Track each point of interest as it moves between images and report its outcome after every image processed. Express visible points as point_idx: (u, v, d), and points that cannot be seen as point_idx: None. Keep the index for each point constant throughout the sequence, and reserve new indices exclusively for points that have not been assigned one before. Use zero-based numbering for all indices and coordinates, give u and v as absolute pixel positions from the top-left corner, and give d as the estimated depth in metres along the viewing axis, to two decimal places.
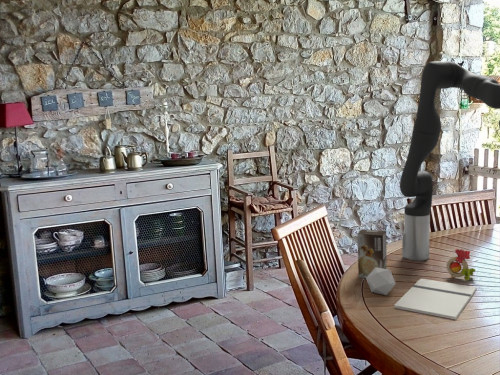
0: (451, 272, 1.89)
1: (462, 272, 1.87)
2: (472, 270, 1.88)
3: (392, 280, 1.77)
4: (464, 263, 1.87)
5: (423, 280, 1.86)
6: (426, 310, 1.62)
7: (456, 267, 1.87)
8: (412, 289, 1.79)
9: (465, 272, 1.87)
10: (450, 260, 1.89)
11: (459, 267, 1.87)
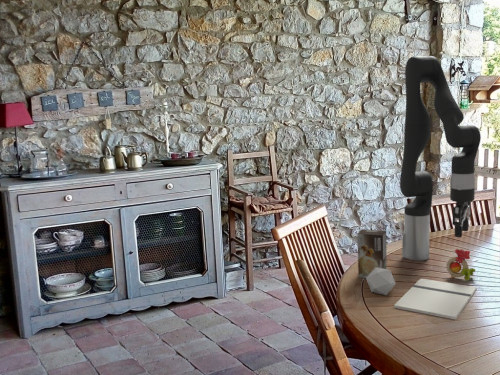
0: (451, 272, 1.89)
1: (462, 272, 1.87)
2: (472, 270, 1.88)
3: (392, 281, 1.77)
4: (464, 263, 1.87)
5: (423, 280, 1.86)
6: (426, 310, 1.62)
7: (456, 267, 1.87)
8: (412, 289, 1.79)
9: (465, 272, 1.87)
10: (450, 260, 1.89)
11: (459, 267, 1.87)
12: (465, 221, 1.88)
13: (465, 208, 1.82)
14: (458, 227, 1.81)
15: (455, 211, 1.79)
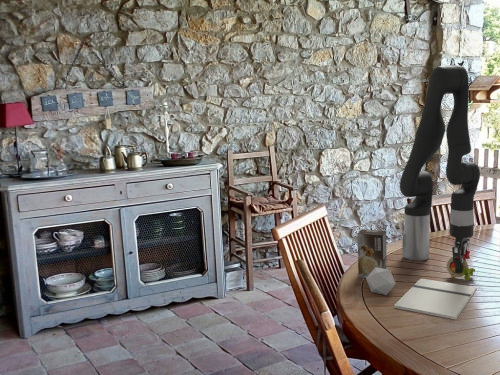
0: (451, 272, 1.89)
1: (462, 272, 1.87)
2: (472, 270, 1.88)
3: (392, 281, 1.77)
4: (464, 263, 1.87)
5: (423, 280, 1.86)
6: (426, 310, 1.62)
7: None
8: (412, 289, 1.79)
9: (465, 272, 1.87)
10: (450, 260, 1.89)
11: None
12: None
13: (464, 244, 1.84)
14: (458, 264, 1.85)
15: (454, 251, 1.82)
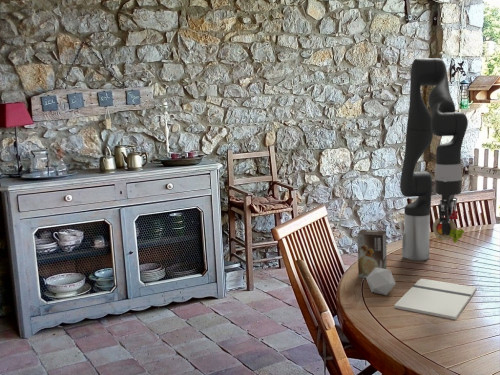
0: (438, 234, 1.73)
1: (450, 234, 1.71)
2: (461, 231, 1.71)
3: (392, 281, 1.77)
4: (452, 224, 1.70)
5: (423, 280, 1.86)
6: (426, 310, 1.62)
7: None
8: (412, 289, 1.79)
9: (453, 233, 1.70)
10: (436, 221, 1.73)
11: None
12: None
13: (451, 202, 1.68)
14: (445, 224, 1.69)
15: (441, 209, 1.66)
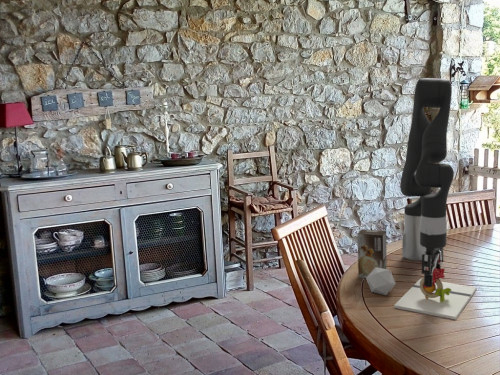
0: (425, 292, 1.70)
1: (436, 293, 1.68)
2: (448, 290, 1.68)
3: (392, 281, 1.77)
4: (438, 283, 1.67)
5: None
6: (426, 310, 1.62)
7: (429, 288, 1.68)
8: (412, 289, 1.79)
9: (439, 293, 1.67)
10: (423, 279, 1.70)
11: (433, 287, 1.68)
12: (437, 267, 1.70)
13: (436, 255, 1.64)
14: (428, 276, 1.63)
15: (424, 259, 1.61)
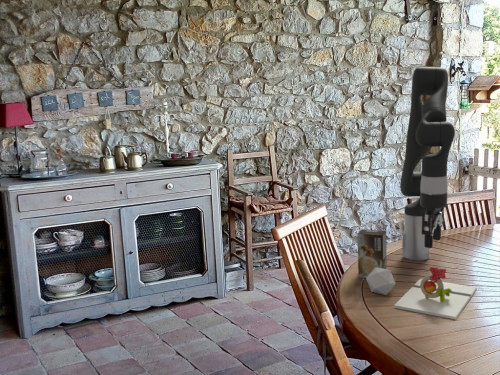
0: (425, 292, 1.71)
1: (437, 293, 1.68)
2: (448, 290, 1.69)
3: (392, 281, 1.77)
4: (439, 283, 1.68)
5: None
6: (426, 310, 1.62)
7: (430, 287, 1.69)
8: (412, 289, 1.79)
9: (440, 293, 1.68)
10: (424, 279, 1.71)
11: (433, 287, 1.69)
12: (437, 229, 1.68)
13: (436, 215, 1.61)
14: (428, 237, 1.60)
15: (424, 219, 1.58)
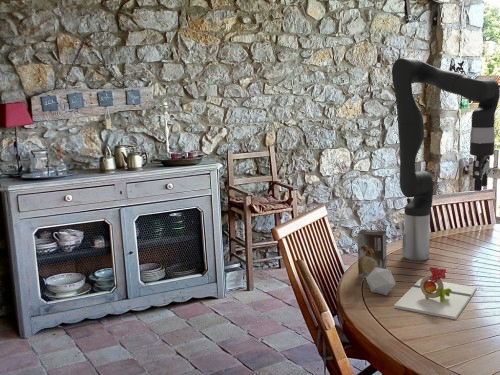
0: (425, 292, 1.71)
1: (437, 293, 1.68)
2: (448, 290, 1.69)
3: (392, 281, 1.77)
4: (439, 283, 1.68)
5: None
6: (426, 310, 1.62)
7: (430, 287, 1.69)
8: (412, 289, 1.79)
9: (440, 293, 1.68)
10: (424, 279, 1.71)
11: (433, 287, 1.69)
12: (484, 176, 1.90)
13: (485, 162, 1.83)
14: (478, 181, 1.82)
15: (475, 164, 1.80)
